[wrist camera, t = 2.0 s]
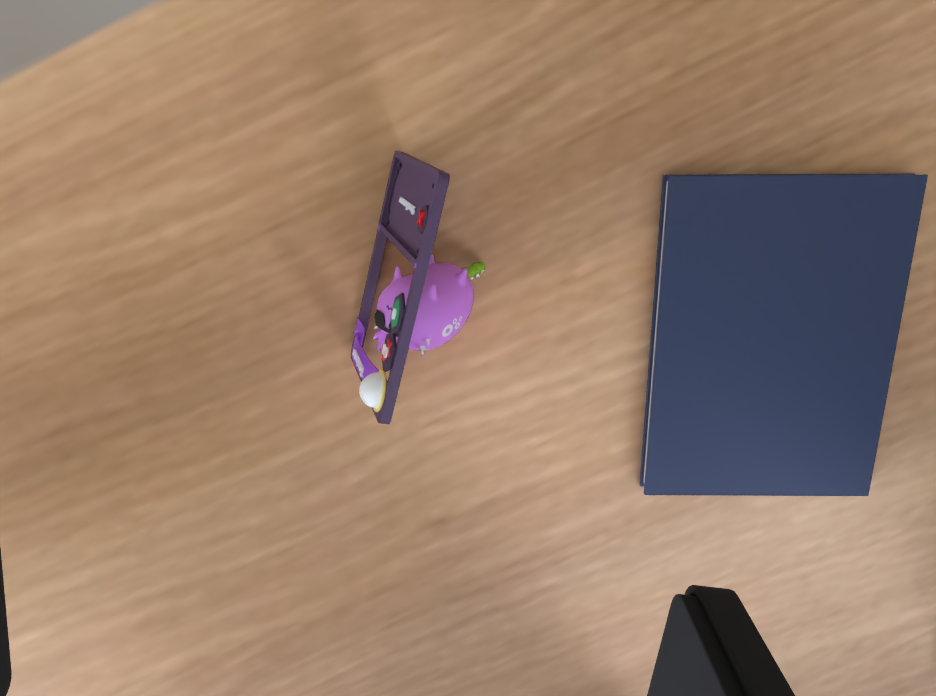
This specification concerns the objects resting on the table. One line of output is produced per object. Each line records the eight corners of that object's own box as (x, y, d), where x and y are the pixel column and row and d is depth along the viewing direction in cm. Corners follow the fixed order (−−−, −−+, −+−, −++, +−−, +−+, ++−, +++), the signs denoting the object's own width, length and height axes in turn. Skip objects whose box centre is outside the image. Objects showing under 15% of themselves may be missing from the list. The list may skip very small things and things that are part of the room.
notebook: (912, 173, 28) (927, 174, 27) (856, 485, 32) (868, 496, 31) (662, 174, 28) (669, 175, 27) (639, 484, 32) (644, 495, 31)
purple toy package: (417, 166, 21) (358, 423, 24) (562, 201, 23) (493, 436, 26) (376, 145, 27) (333, 353, 30) (495, 175, 29) (444, 368, 32)
